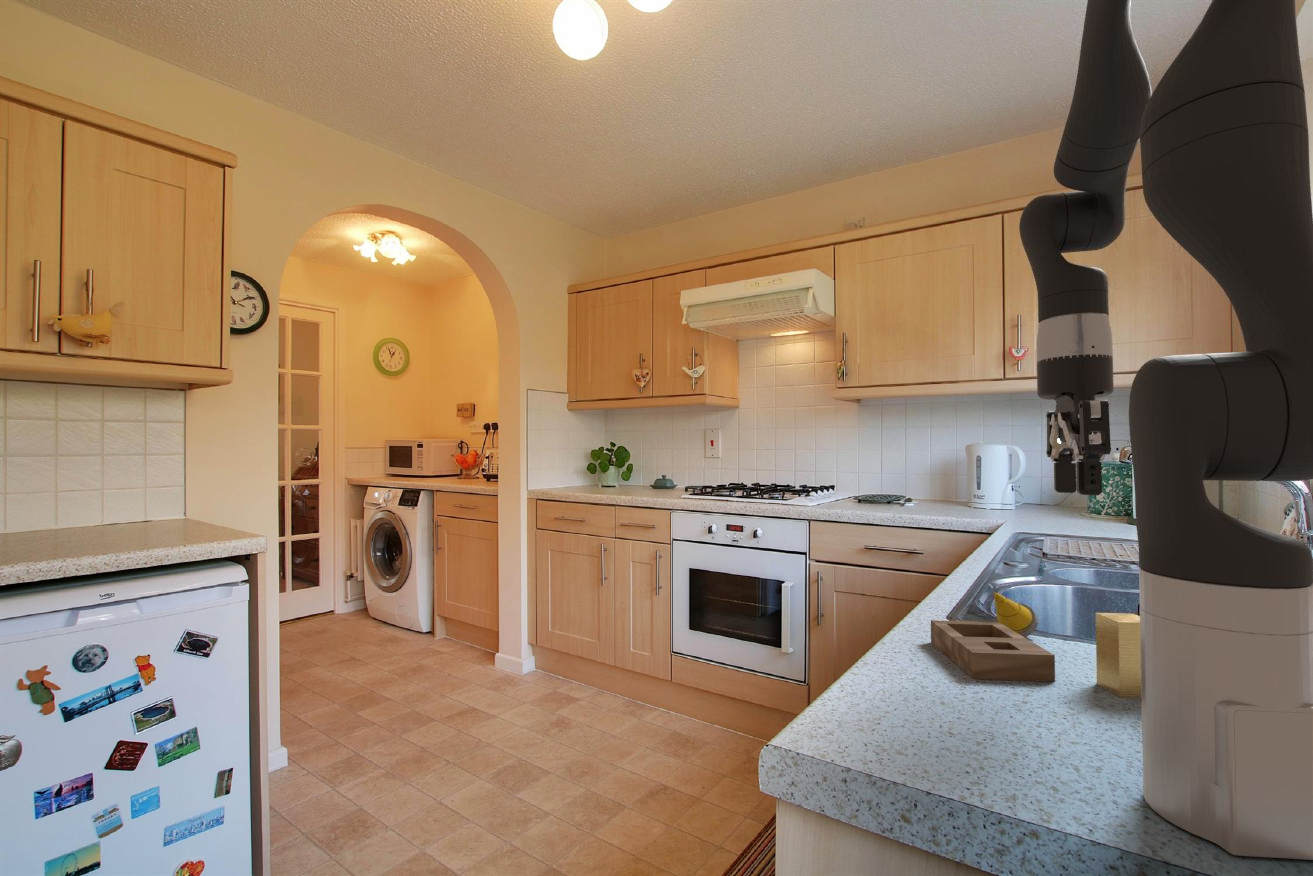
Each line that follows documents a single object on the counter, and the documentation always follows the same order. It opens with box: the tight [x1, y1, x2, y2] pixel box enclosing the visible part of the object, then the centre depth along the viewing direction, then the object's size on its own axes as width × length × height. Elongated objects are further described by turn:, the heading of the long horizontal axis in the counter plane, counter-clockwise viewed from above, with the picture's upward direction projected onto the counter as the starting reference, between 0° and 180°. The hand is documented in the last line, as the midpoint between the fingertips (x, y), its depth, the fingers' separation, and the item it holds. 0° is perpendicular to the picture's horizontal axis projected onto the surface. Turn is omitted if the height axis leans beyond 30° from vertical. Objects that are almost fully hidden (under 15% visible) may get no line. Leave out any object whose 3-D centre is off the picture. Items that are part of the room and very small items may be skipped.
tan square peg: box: [1095, 612, 1141, 699], centre depth 68 cm, size 4×4×8 cm
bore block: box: [930, 619, 1056, 683], centre depth 78 cm, size 14×9×3 cm, turn 175°
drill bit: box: [993, 591, 1039, 638], centre depth 87 cm, size 5×5×10 cm
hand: (1076, 493), depth 73 cm, fingers open, 8 cm apart
